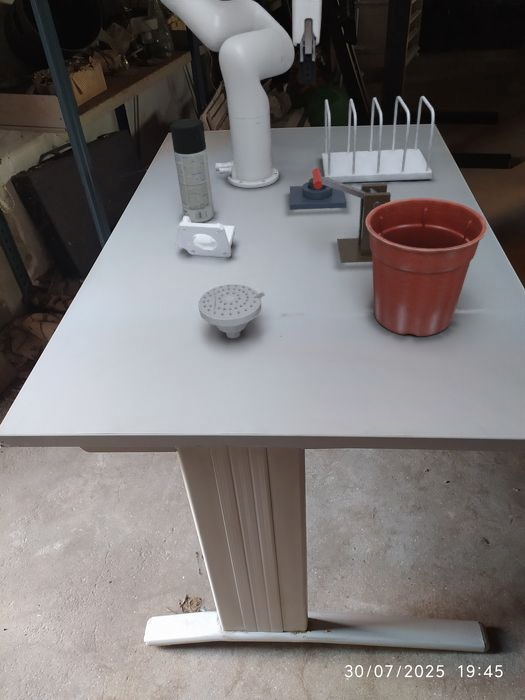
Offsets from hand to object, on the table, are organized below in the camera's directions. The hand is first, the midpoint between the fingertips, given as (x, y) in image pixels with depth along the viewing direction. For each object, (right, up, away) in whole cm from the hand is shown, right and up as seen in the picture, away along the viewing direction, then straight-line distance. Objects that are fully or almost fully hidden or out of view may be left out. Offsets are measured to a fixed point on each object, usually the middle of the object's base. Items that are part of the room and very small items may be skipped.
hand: (307, 82), depth 107 cm
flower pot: (+15, -48, -21) cm, 54 cm away
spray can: (-23, -24, +11) cm, 35 cm away
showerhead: (-13, -51, -23) cm, 57 cm away
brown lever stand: (+11, -35, -6) cm, 38 cm away
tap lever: (+6, -26, -13) cm, 30 cm away
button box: (+3, -20, +14) cm, 25 cm away
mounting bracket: (-20, -34, -1) cm, 40 cm away
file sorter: (+19, -8, +28) cm, 34 cm away
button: (+3, -18, +11) cm, 21 cm away
